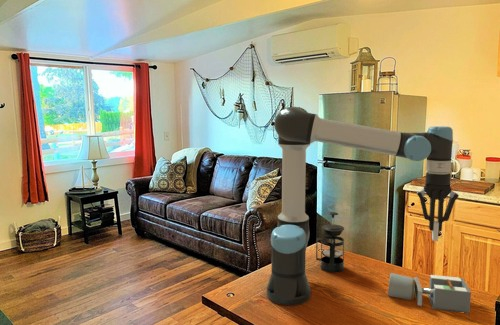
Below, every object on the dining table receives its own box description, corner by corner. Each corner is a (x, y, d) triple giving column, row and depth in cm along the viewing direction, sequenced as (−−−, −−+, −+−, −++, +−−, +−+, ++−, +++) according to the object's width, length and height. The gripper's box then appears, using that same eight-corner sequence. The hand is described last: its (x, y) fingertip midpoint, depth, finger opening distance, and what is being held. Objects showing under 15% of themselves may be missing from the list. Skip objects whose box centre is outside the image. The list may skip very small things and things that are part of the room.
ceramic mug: (414, 304, 123) (415, 282, 122) (387, 299, 126) (388, 277, 125) (414, 290, 132) (415, 270, 131) (390, 286, 136) (390, 266, 135)
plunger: (417, 305, 120) (418, 283, 119) (413, 289, 131) (414, 269, 130) (461, 310, 117) (462, 288, 116) (453, 294, 127) (454, 273, 126)
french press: (345, 264, 155) (346, 210, 152) (345, 273, 146) (346, 216, 143) (317, 261, 158) (317, 208, 155) (315, 271, 149) (315, 215, 146)
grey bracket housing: (432, 309, 120) (433, 287, 119) (427, 294, 129) (428, 274, 128) (469, 313, 116) (471, 291, 116) (461, 298, 126) (463, 277, 125)
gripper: (418, 173, 125) (415, 241, 128) (462, 174, 121) (458, 245, 124) (415, 170, 132) (413, 234, 135) (457, 171, 128) (453, 237, 131)
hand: (434, 239), depth 130 cm, fingers closed
